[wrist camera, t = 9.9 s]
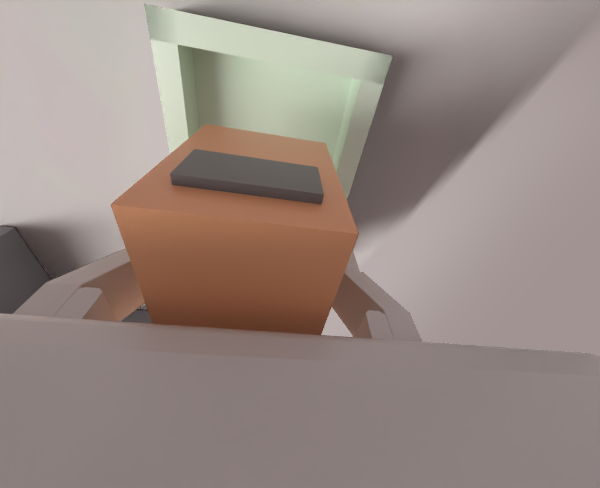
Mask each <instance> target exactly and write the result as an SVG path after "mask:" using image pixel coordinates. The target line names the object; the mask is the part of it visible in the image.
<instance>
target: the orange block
mask: <svg viewBox="0 0 600 488" xmlns="http://www.w3.org/2000/svg"><path fill="white" fill-rule="evenodd" d="M111 207H112V210H113V212H114V215H115V218H116V221H117V224H118V227H119V230H120V232H121V235H122V238H123V241H124V244H125V247H126V250H127V252H128V255H129V258H130V261H131V264H132V267H133V270H134V272H135V275H136V278H137V281H138V284H139V287H140V290H141V292H142V295H143V298H144V301H145V304H146V307H147V310H148V312H149V315H150V318H151V321H152V324H165V325H180V326H195V327H210V328H224V329H239V330H254V331H268V332H283V333H298V334H312V335H321V333H322V331H323V328H324V325H325V322H326V320H327V317H328V315H329V312H330V309H331V307H332V304H333V301H334V299H335V296H336V293H337V291H338V288H339V285H340V283H341V280H342V277H343V275H344V272H345V270H346V267H347V264H348V262H349V259H350V256H351V254H352V251H353V248H354V246H355V243H356V240H357V238H358V235H359V233H358V230H357V227H356V224H355V222H354V219H353V216H352V214H351V211H350V208H349V205H348V203H347V200H346V197H345V194H344V192H343V189H342V186H341V183H340V181H339V178H338V175H337V172H336V170H335V167H334V164H333V162H332V159H331V156H330V153H329V151H328V148H327V145H326V143H322V142H315V141H309V140H303V139H297V138H290V137H284V136H278V135H272V134H266V133H259V132H253V131H247V130H241V129H235V128H228V127H222V126H216V125H210V124H205V125H204V126H203V127H201V128H200V129H199V130H198V131H197V132H196V133H194V134H193V135H192V136H191V137H190V138H188V139H187V140H186V141H185V142H184V143H183V144H181V145H180V146H179V147H178V148H177V149H175V150H174V151H173V152H172V153H171V154H170V155H168V156H167V157H166V158H165V159H164V160H162V161H161V162H160V163H159V164H158V165H157V166H155V167H154V168H153V169H152V170H151V171H150V172H148V173H147V174H146V175H145V176H144V177H142V178H141V179H140V180H139V181H138V182H137V183H135V184H134V185H133V186H132V187H131V188H129V189H128V190H127V191H126V192H125V193H124V194H122V195H121V196H120V197H119V198H118V199H116V200H115V201H114V202H113V203H112V204H111Z"/></svg>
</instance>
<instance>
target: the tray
mask: <svg viewBox="0 0 600 488" xmlns="http://www.w3.org/2000/svg"><path fill="white" fill-rule="evenodd" d="M144 5H145V11H146V17H147V23H148V29H149V34H150V40H151V46H152V52H153V58H154V64H155V70H156V76H157V82H158V87H159V93H160V99H161V105H162V111H163V117H164V123H165V129H166V134H167V140H168V146H169V152H170V154H171V153H172V152H173V151H174V150H175V149H177V148H178V147H179V146H180V145H181V144H183V143H184V142H185V141H186V140H187V139H188V138H190V137H191V136H192V135H193V134H194V133H196V132H197V131H198V130H199V129H200V128H201V127H203V126H204V125H205V124H210V125H216V126H222V127H228V128H235V129H241V130H247V131H253V132H259V133H266V134H272V135H278V136H284V137H290V138H297V139H303V140H309V141H315V142H322V143H326V145H327V148H328V151H329V153H330V156H331V159H332V162H333V164H334V167H335V170H336V172H337V175H338V178H339V181H340V183H341V186H342V189H343V192H344V194H345V197H346V200H347V199H348V196H349V193H350V190H351V187H352V183H353V180H354V177H355V174H356V171H357V168H358V164H359V161H360V158H361V155H362V152H363V148H364V145H365V142H366V139H367V136H368V133H369V129H370V126H371V123H372V120H373V117H374V114H375V110H376V107H377V104H378V101H379V98H380V95H381V91H382V88H383V85H384V82H385V79H386V76H387V72H388V69H389V66H390V63H391V60H392V57H393V56H391V55H386V54H382V53H377V52H372V51H367V50H363V49H358V48H353V47H348V46H344V45H339V44H334V43H329V42H324V41H320V40H315V39H310V38H305V37H301V36H296V35H291V34H286V33H282V32H277V31H272V30H267V29H263V28H258V27H253V26H248V25H244V24H239V23H234V22H229V21H225V20H220V19H215V18H210V17H206V16H201V15H196V14H191V13H187V12H182V11H177V10H172V9H168V8H163V7H158V6H153V5H148V4H144Z"/></svg>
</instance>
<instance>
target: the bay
mask: <svg viewBox="0 0 600 488" xmlns="http://www.w3.org/2000/svg"><path fill="white" fill-rule="evenodd" d="M48 281H51V279H50V278H49V276H48V275H47V274H46V272H45V271H44V269H43V268H42V266H41V265H40V263H39V262H38V261H37V259H36V258H35V256H34V255H33V253H32V252H31V250H30V249H29V248H28V246H27V245H26V243H25V242H24V240H23V239H22V237H21V236H20V234H19V233H18V232H17V230H16V229H15V227H6V226H0V313H3V314H13V313H14V312H15V311H16V310H17V309H18V308H19V307H20V306H21V305H23V304H24V303H25V302H26V301H27V300H28V299H29V298H30V297H31V296H32V295H33V294H34V293H35V292H36V291H37V290H38V289H39V288H41V287H42V286H43V285H44V284H45V283H46V282H48ZM121 322H136V323H151V324H152V321H151V318H150V315H149V312H148V311H146V310H135V311H133V312H132V313H131V314H129V315H128V316H127V317H125V318H124V319H123V320H122V321H121Z"/></svg>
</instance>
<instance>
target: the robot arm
mask: <svg viewBox="0 0 600 488" xmlns="http://www.w3.org/2000/svg"><path fill="white" fill-rule="evenodd" d="M144 303H145V301H144V298H143V295H142V292H141V290H140V287H139V284H138V281H137V278H136V275H135V272H134V270H133V267H132V264H131V261H130V258H129V255H128V252H127V250H126V248H125V249H123V250H120V251H118V252H116V253H113V254H111V255H109V256H106V257H104V258H102V259H99V260H97V261H95V262H92V263H90V264H88V265H85V266H83V267H81V268H78V269H76V270H74V271H71V272H69V273H67V274H65V275H62V276H60V277H58V278H55V279H53V280H51V281H48V282H46V283H45V284H44V285H43V286H42V287H41V288H39V289H38V290H37V291H36V292H35V293H34V294H33V295H32V296H31V297H30V298H29V299H28V300H27V301H26V302H25V303H24V304H23V305H21V306H20V307H19V308H18V309H17V310H16V311H15V312H14V313H13V314H3V313H0V488H600V356H597V355H593V354H588V353H580V352H564V351H548V350H533V349H518V348H504V347H489V346H488V347H487V346H474V345H459V344H445V343H430V342H422V340H421V337H420V335H419V333H418V331H417V328H416V326H415V324H414V321H413V319H412V317H411V315H410V313H409V312H408V311H407V310H406V309H405V308H404V307H402V306H401V305H400V304H399V303H398V302H397V301H395V300H394V299H393V298H392V297H391V296H390V295H389V294H388V293H386V292H385V291H384V290H383V289H382V288H381V287H380V286H378V285H377V284H376V283H375V282H374V281H372V280H371V279H370V278H369V277H368V276H367V275H366V274H365V273H364V272H360V271H359V268H358V265H357V262H356V259H355V255H354V252H353V251H352V254H351V256H350V259H349V262H348V264H347V267H346V270H345V272H344V275H343V277H342V280H341V283H340V285H339V288H338V291H337V293H336V296H335V299H334V301H333V304H332V307H333V309H334V310H335V312H336V313H337V314H338V316H339V317H340V319H341V320H342V321H343V323H344V324H345V325H346V326H347V328H348V330H349V331H350V332H351V334H352V335H353V337H341V336H327V335H312V334H298V333H283V332H268V331H254V330H239V329H224V328H210V327H195V326H180V325H165V324H151V323H136V322H121V321H122V320H123V319H124V318H125V317H127V316H128V315H129V314H131V313H132V312H133V311H135V310H136V309H137V308H139V307H140V306H141V305H143V304H144Z"/></svg>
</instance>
